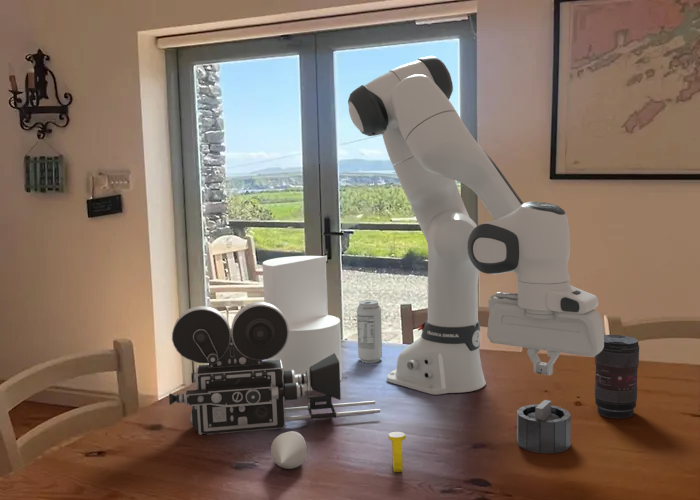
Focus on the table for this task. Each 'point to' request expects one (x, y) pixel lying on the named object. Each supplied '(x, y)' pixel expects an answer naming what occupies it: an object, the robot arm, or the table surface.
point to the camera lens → (617, 376)
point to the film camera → (248, 371)
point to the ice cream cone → (289, 450)
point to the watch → (397, 450)
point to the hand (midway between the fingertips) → (543, 373)
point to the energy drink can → (369, 331)
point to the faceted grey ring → (543, 431)
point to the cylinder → (302, 311)
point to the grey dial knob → (543, 412)
